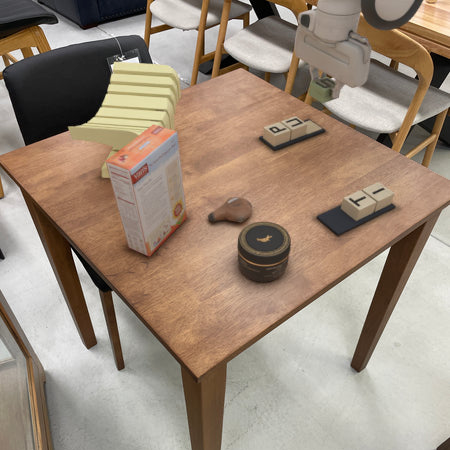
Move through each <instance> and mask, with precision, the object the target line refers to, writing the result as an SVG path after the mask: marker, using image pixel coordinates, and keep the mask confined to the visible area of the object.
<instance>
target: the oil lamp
mask: <svg viewBox="0 0 450 450" xmlns="http://www.w3.org/2000/svg"><path fill="white" fill-rule="evenodd" d="M252 214H253V205H252V203H251V202H250V201H249V200H248V199H246V198H245V197H244V198H243V197H240V196H237V197H228V198H227V200H226V201H224V202H223V204H221V206H218V207H217V208H216V209H215V210H213V211H211V212H209V214H208V215H207V218H208V220H209V221H210V222H212V223H214V222H219V221H225V220H228V221H231V222H238V223H243V222H244V221H245V220H246V219H248V218H249V217H250V216H252Z"/></svg>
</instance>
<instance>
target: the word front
mask: <svg viewBox="0 0 450 450" xmlns="http://www.w3.org/2000/svg"><path fill="white" fill-rule="evenodd" d="M395 194H396V193H395V192H394V191H392V190H391V189H389V188H388V187H386V186H385V185H384V184H382V183H381V182H379V181H377V182H375V183H373V184H370V185H368V186H366V187H364V188H362V189H359V190H357V191H355V192H353V193H351V194H348V195H346V196H344V197H343V198H342V201H341V204H339V205H337V206H335V207H333V208H331V209H329V210H326V211H324V212H322V213H320V214H317V216H316V218H315V219H317V220H318V221H319V222H320V223H322V224H323V225H324V226H325V227H326V228H327V229H329V230H330V231H331V232H332V233H333V234H334V235H336V236H337V237H340V236H341V235H343V234H345V233H347V232H349V231H351V230H353V229H356V228H357V227H359V226H361V225H364V224H365V223H368V222H369V221H371V220H373V219H376V218H377V217H379V216H382V215H384V214H386V213H388V212H390V211H393V210H394V209H396V205H395V204H394V203H393V199H394V197H395Z"/></svg>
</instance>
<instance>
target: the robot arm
mask: <svg viewBox="0 0 450 450" xmlns="http://www.w3.org/2000/svg"><path fill="white" fill-rule="evenodd" d="M423 2H424V0H318V1H317V3H316V8H313V9H309V10H305V11H302V12H300V13H299V14H298V16H297V23H298V26H297V28H296V31H295V39H294V47H293V48H294V49H293V51H294V55H295V57H296V58H297V59H299V60H301V61H303V62H304V63H306V64H308V65H309V69H308V70H309V74H310V78H311V80H310V82H311V81H314V80H318V79H321V78H322V77H320V71H321V72H322V73H324V74H326V75H328V77H329V76H330V77H331V78H333V79H334V81H335V84H336V86H335V87H334V88H332V89H330V94H329V96H330V97H332V98H334V100H336V99H335V98H337V99H339V98H340V95H341V90H342V89H343V88H344V87H345V85H346V86H348V87H350V88H351V89H356V88H359V87H361V86H363V85H365V83H366V82H367V81H368V77H369V72H370V66H371V65H370V64H371V54H372V46H371V43H370V42H369V39H368V38H367V37H366V36H363V35H361V34H359V33H358V28H359V23H360V19H361V14H362V17H363V19H364V20H365V21H366V23H367V24H368V25H370V26H371V27H372V28H374V29H376V30H379V31H393V30H397V29H399V28H401V27H403V26H404V25H407V23H409V21H411V20H412V19H413V17H415V15H416V14H417V12H418V10H419V9H420V8H421V6H422V5H423ZM338 97H339V98H338Z"/></svg>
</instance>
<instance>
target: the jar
mask: <svg viewBox="0 0 450 450" xmlns="http://www.w3.org/2000/svg"><path fill="white" fill-rule="evenodd" d="M291 245H292V240H291V235H290V233H289V231H288V230H287V229H285V227H283V226H281V225H280V224H278V223H275V222H271V221H255V222H252V223H250V224H246V226H244V227H243V228H242V229H241V230H240V232H239V234H238V238H237V246H236V247H237V263H238V267H239V270H240V271H241V273H242V274H243V275H244V276H245V277H246V278H247V279H249V280H251V281H254V282H257V283H269V282H272V281H275V280H277V279H279V278H280V277H281V276H282V275H283V274H284V273H285V271H286V269H287V267H288V264H289V258H290V254H291V249H292V248H291V247H292V246H291Z"/></svg>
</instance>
